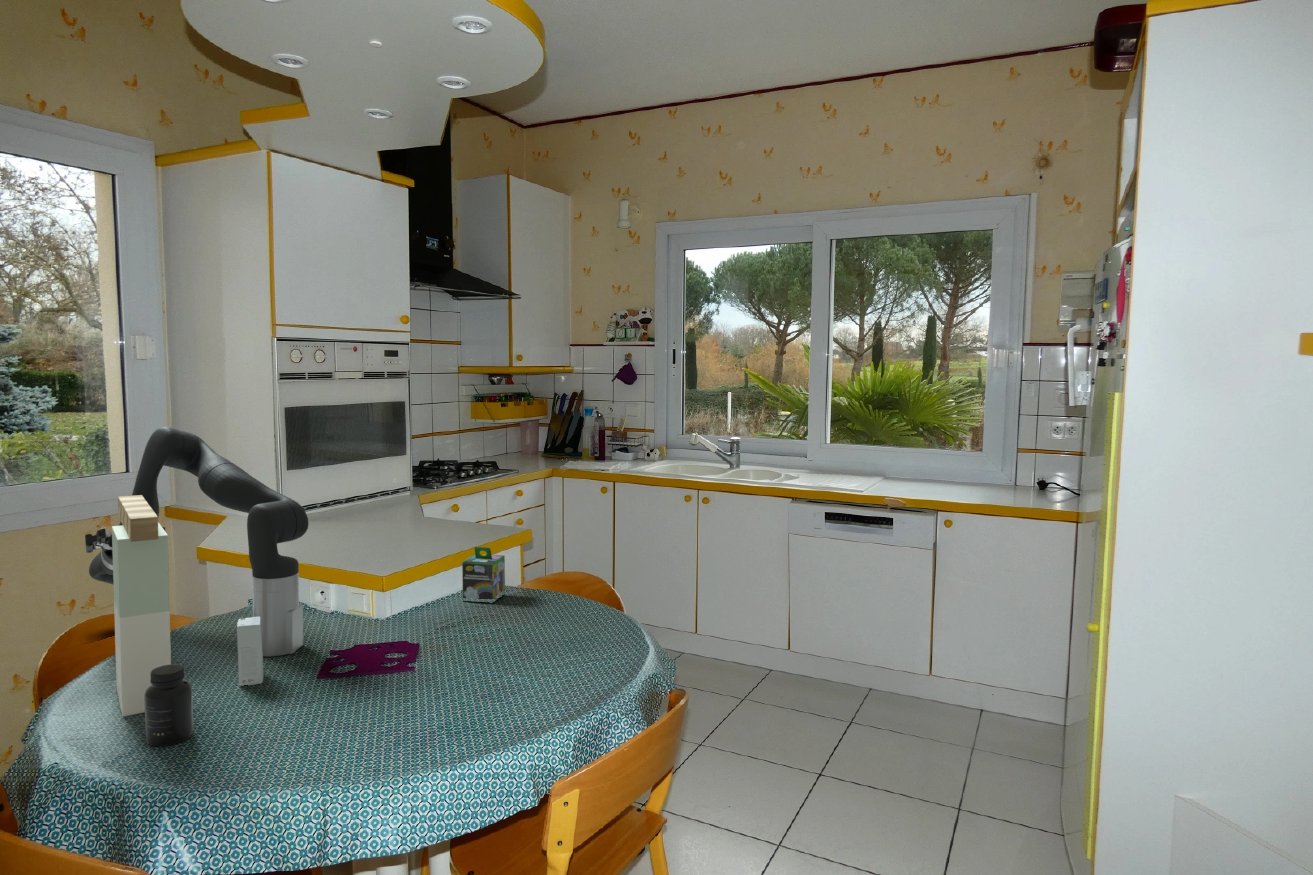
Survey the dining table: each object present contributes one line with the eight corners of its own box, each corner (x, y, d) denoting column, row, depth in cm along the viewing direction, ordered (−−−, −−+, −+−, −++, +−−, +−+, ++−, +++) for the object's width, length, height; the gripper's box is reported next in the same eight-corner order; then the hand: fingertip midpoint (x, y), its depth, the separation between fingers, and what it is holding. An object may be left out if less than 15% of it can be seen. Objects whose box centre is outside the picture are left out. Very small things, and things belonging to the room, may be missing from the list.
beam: (118, 516, 156) (118, 496, 156) (142, 514, 158) (141, 495, 158) (131, 541, 134) (130, 518, 134) (158, 539, 136) (157, 516, 136)
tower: (116, 690, 149) (111, 526, 146) (162, 681, 153) (158, 522, 151) (122, 716, 138) (117, 539, 135) (171, 706, 142) (167, 535, 140)
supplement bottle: (159, 728, 134) (158, 661, 133) (201, 728, 134) (199, 661, 133) (136, 747, 127) (134, 676, 126) (180, 747, 127) (178, 676, 126)
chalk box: (505, 595, 219) (506, 543, 218) (492, 604, 210) (493, 550, 209) (475, 592, 221) (475, 541, 220) (461, 601, 212) (461, 548, 211)
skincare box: (263, 683, 154) (262, 624, 153) (237, 687, 152) (236, 626, 151) (263, 672, 159) (262, 615, 158) (238, 676, 157) (237, 617, 156)
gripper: (81, 538, 170) (85, 516, 158) (158, 531, 179) (166, 509, 167) (83, 571, 168) (87, 551, 156) (161, 562, 177) (170, 542, 165)
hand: (128, 529), depth 162 cm, fingers open, 8 cm apart
